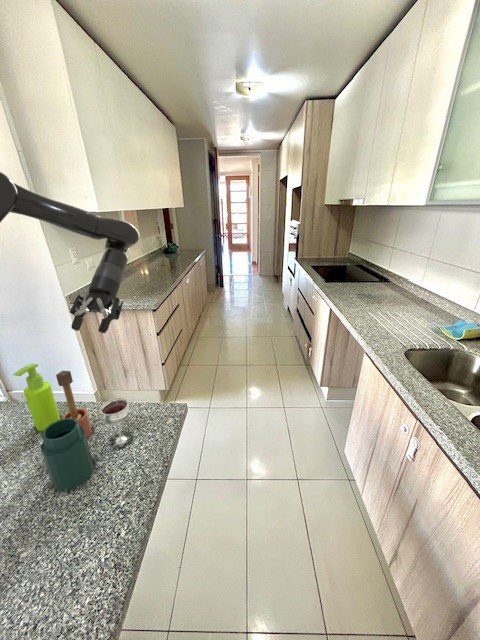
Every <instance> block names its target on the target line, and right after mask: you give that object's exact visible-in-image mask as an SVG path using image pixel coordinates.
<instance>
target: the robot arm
mask: <svg viewBox="0 0 480 640" xmlns="http://www.w3.org/2000/svg"><path fill="white" fill-rule="evenodd" d="M10 213H12V214H16V215H21V216H25V217H28V218H29V217H30V218H33V219H36V220H39V221H42V222H44V223H47V224H50V225H53V226H55V227H57V228H60V229H63V230H65V231H68V232H71V233H74V234H77V235H80V236H83V237H86V238H90V239H92V240H98V241H101V240H104V239H106V241H105V245H104V252H103V254H102V256H101V259H100V261H99V264H98V265H97V267H96V269H95V271H94V274H93V276H92V279H91V281H90V283H89V286H88V295H87V296H82V295H81V294H78V295H77V296H76V298H75V299H74V301H73V303H72V306H71V307H70V309H69V313H70V314H71V315H72V316H74V317H73V320H72V323H71V324H70V326H71V329H72V330H74V331H75V332H79V331H80V329H81V327H82V324H83V322H84V318H86V317H87V316H88V315H89V316H90V315H91V314H92V313H99V314H102V316H103V317H102V319H101V321H100V323H99V326H98V329H97V331H98V332H99V333H101V334H106V333H107V331H108V330H109V328H110V324H111V322H113V321H114V320H116V321H118V320H119V319H120V316H121V312H122V309H123V305H124V301H123V300H122V299H121V298H119V297H117V296H118V292H119V290H120V287H121V284H122V282H123V278H124V273H125V270H126V267H127V264H128V260H129V259H128V258H129V257H128V255H127V252H128V249H129V248H131V247H133V246H134V245H136V244H137V243H138V242H139V240H140V232H139V230H138V229H137V228H136V227H135V226H134V225H133V224H131V223H130V222H127V221H124V220H121V219H115V218H110V217H103V216H99V215H97V214H95V213H92V212H90V211H88V210H85V209H82V208H80V207H77V206H74V205H70V204H67V203H64V202H61V201H58V200H55V199H51V198H48V197H45V196H43V195H40V194H38V193H35V192H33V191H32V190H31V191H30V190H28V189H27V188H24V187H22V186H21V185H18V184H16V183H14V181H12V179H11V178H10V177H8V175H6V174H5V173H4V172H1V171H0V223H2V221H4V219H5V218H6V217H7V216H8V215H9V214H10Z"/></svg>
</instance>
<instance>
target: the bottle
mask: <svg viewBox="0 0 480 640" xmlns="http://www.w3.org/2000/svg"><path fill="white" fill-rule="evenodd" d="M41 440H42V443H41V444H40V451H41V454H42V457H43V460H44V463H45V466H46V469H47V471H48V475H49V477H50V480H51V483H52V486H53V487H54V488H55V489H56V490H58V491H68V490H71V489H75V488H77V487H79V486H80V485H82V484H83V483H84V482H85V481H87V480H88V479H89V477H90V476H91V475H92V473H93V471H94V461H93V458H92V454H91V450H90V446H89V442H88V438H86V434H85V430H84V429H83V428H82V427H80V426H79V422H78V421H77V420H76V419H75V418H65V419H62V418H60V420H58V421H56V422H54V423H52V424H50V425H49V426H48V427H47V428H45V429H44V430H43V431H42V434H41Z"/></svg>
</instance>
